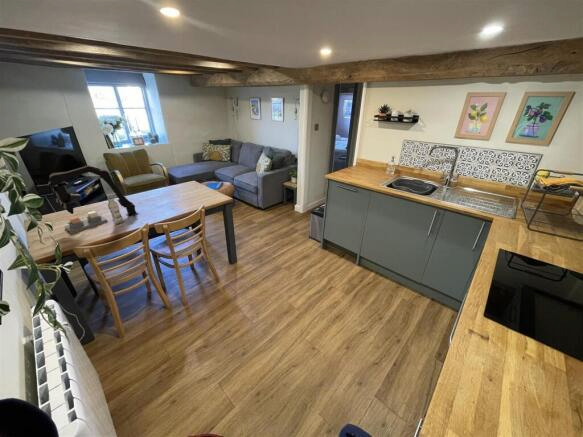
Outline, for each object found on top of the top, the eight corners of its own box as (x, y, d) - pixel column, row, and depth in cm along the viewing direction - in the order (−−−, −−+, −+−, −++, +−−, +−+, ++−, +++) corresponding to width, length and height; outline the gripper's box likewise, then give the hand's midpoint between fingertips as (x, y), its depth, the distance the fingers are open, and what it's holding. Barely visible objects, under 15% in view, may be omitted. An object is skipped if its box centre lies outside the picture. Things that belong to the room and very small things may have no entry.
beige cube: (98, 216, 177) (96, 212, 175) (91, 218, 174) (89, 214, 172) (95, 214, 179) (94, 210, 177) (88, 216, 176) (87, 212, 174)
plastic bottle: (122, 220, 183) (114, 196, 173) (125, 222, 179) (117, 198, 170) (112, 222, 178) (103, 198, 169) (115, 225, 174) (106, 201, 165)
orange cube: (80, 221, 169) (78, 217, 167) (72, 224, 165) (70, 219, 164) (78, 220, 171) (76, 215, 169) (70, 222, 167) (68, 218, 166)
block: (107, 221, 180) (105, 215, 177) (72, 233, 163) (69, 227, 161) (100, 217, 185) (98, 211, 183) (65, 228, 169) (62, 222, 167)
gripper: (82, 191, 159) (90, 212, 166) (71, 186, 168) (80, 206, 175) (61, 196, 151) (71, 218, 158) (51, 190, 160) (60, 211, 167)
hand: (71, 213), depth 165 cm, fingers open, 3 cm apart
